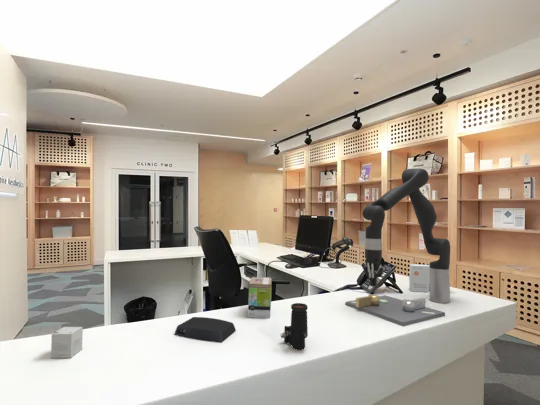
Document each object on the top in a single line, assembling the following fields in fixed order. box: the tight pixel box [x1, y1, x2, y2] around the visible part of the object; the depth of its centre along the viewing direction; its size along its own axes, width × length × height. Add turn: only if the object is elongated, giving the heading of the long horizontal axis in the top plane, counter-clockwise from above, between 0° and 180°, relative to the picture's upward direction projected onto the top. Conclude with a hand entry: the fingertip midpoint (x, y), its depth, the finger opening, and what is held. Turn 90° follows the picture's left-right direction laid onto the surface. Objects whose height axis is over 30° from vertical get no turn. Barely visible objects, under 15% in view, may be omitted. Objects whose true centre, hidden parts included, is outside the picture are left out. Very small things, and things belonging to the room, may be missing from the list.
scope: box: [280, 302, 309, 351], centre depth 102 cm, size 8×14×10 cm
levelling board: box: [344, 294, 446, 327], centre depth 144 cm, size 29×33×2 cm
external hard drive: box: [174, 316, 237, 344], centre depth 112 cm, size 13×19×4 cm
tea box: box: [247, 276, 273, 319], centre depth 137 cm, size 15×10×15 cm
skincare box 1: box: [50, 326, 84, 359], centre depth 94 cm, size 6×6×7 cm
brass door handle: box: [355, 294, 380, 308], centre depth 145 cm, size 14×5×4 cm, turn 119°
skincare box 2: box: [408, 263, 430, 293], centre depth 181 cm, size 21×6×16 cm, turn 81°
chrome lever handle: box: [402, 297, 426, 312], centre depth 140 cm, size 14×5×4 cm, turn 119°
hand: (373, 285), depth 140 cm, fingers closed
